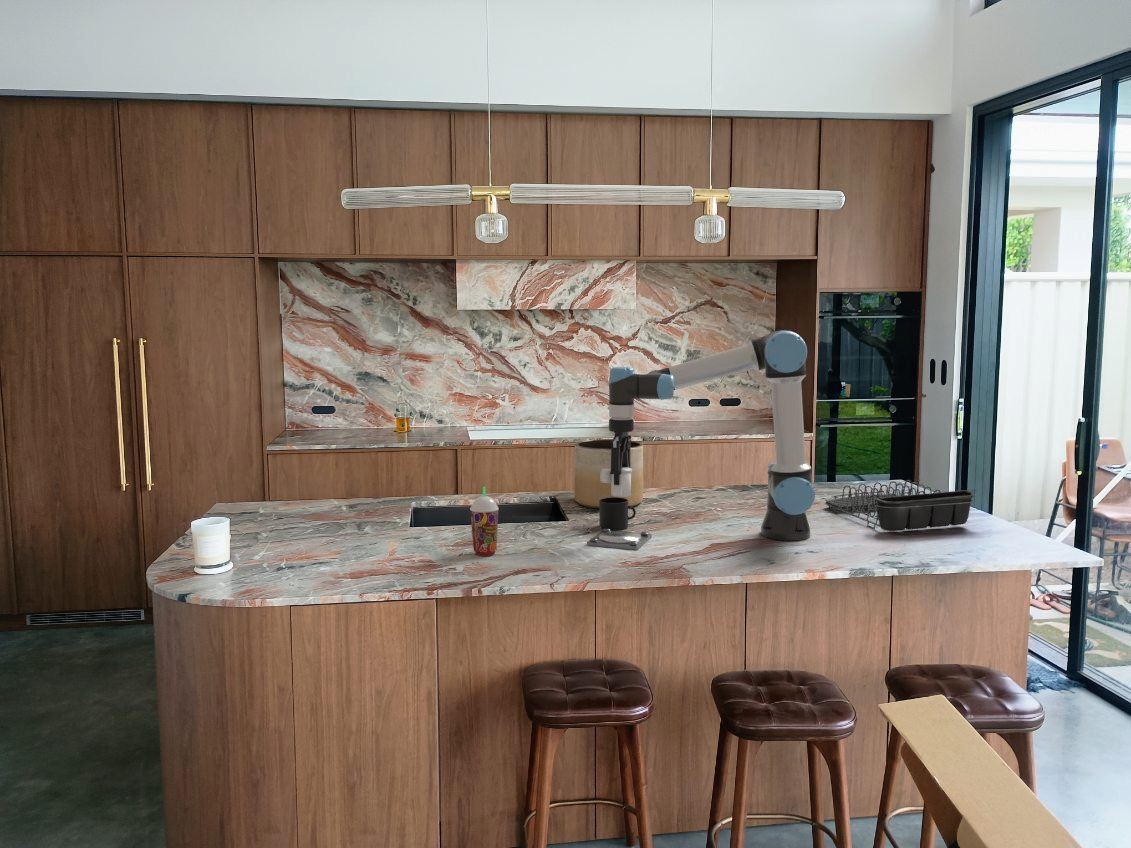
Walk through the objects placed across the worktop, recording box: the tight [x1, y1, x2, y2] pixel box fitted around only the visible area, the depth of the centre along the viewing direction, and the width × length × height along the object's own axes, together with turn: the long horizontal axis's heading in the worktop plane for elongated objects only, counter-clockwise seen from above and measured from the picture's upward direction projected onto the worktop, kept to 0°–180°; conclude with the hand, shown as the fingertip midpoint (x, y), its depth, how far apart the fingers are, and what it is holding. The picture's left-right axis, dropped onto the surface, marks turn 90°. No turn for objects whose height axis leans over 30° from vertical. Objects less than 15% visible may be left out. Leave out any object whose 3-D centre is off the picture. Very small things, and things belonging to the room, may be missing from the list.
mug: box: [598, 497, 637, 531], centre depth 292 cm, size 9×12×9 cm
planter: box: [573, 438, 644, 510], centre depth 328 cm, size 25×25×22 cm
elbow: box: [600, 467, 632, 497], centre depth 273 cm, size 9×7×8 cm
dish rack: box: [824, 479, 976, 532], centre depth 303 cm, size 34×44×12 cm
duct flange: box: [586, 528, 653, 551], centre depth 275 cm, size 16×16×2 cm
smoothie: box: [469, 486, 500, 557], centre depth 260 cm, size 8×8×20 cm
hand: (620, 492), depth 273 cm, fingers closed on elbow, 6 cm apart
